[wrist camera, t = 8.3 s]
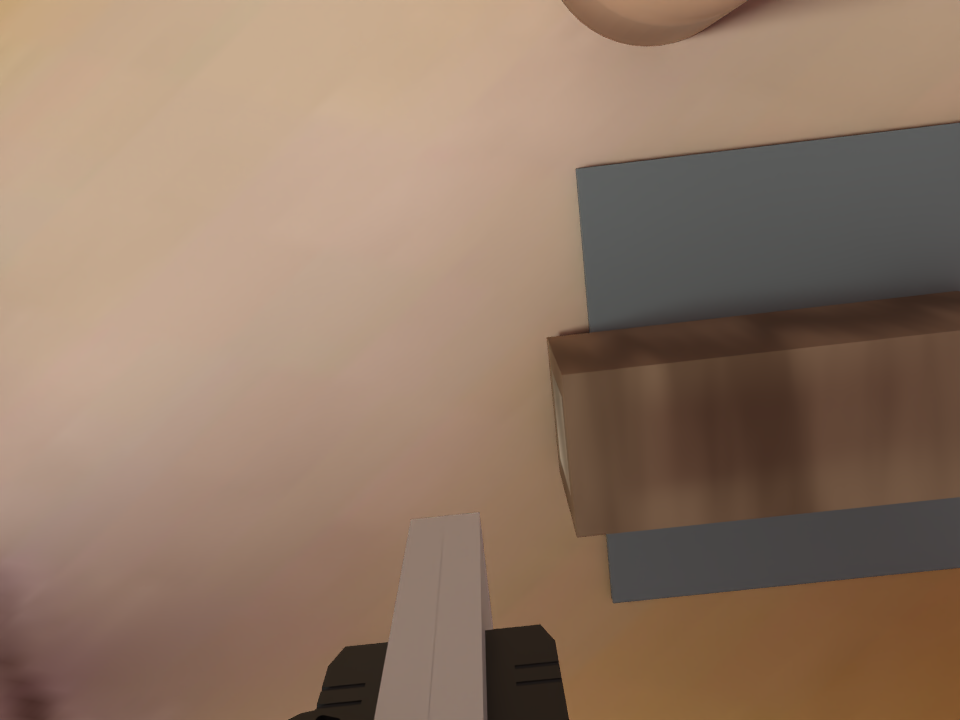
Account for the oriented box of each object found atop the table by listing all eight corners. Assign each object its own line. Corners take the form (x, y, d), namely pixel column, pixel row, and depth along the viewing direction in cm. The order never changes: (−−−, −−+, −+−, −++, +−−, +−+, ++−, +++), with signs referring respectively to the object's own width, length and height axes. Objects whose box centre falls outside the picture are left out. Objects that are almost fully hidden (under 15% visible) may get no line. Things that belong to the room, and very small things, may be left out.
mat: (611, 597, 29) (613, 603, 28) (575, 168, 25) (577, 168, 24) (1036, 553, 28) (1043, 559, 28) (1066, 109, 24) (1075, 108, 24)
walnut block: (577, 537, 22) (1058, 486, 22) (561, 375, 21) (1070, 318, 20) (560, 472, 27) (952, 429, 26) (546, 337, 26) (957, 291, 25)
